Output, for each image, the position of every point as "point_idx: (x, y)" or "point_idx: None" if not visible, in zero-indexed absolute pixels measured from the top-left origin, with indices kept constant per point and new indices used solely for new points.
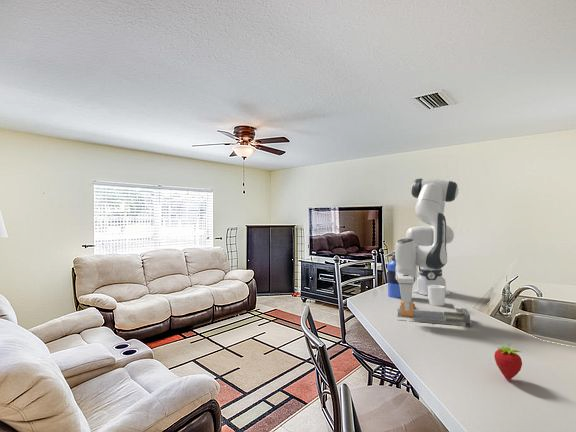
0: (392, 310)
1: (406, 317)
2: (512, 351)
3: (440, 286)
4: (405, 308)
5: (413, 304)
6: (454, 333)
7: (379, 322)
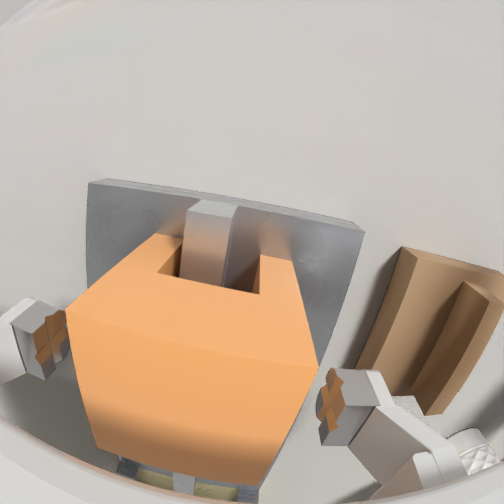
0: (459, 182)
1: (89, 275)
2: None
3: None
4: (19, 312)
5: (427, 406)
6: (32, 416)
7: (53, 35)
